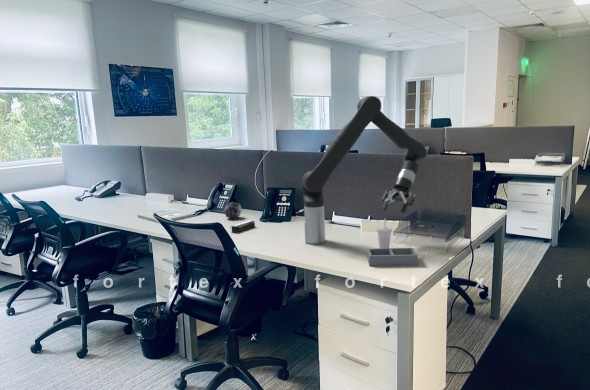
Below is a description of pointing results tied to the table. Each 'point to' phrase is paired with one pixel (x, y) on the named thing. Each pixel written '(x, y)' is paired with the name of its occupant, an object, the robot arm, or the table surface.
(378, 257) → the caddy
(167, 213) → the award plaque
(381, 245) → the smoothie
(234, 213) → the mineral specimen
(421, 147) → the robot arm
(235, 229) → the dark brown flat block
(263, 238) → the table surface
